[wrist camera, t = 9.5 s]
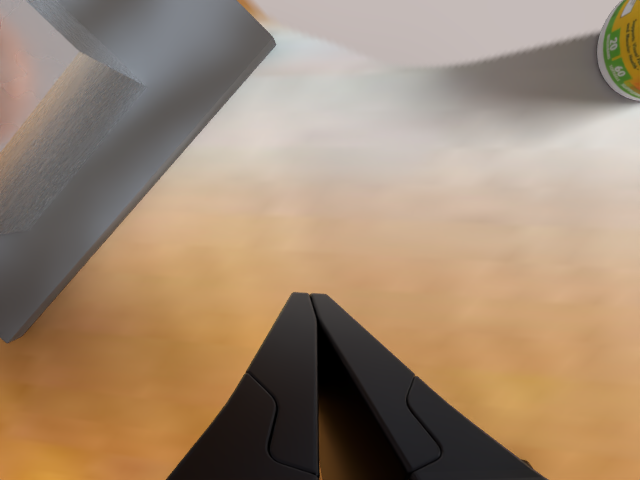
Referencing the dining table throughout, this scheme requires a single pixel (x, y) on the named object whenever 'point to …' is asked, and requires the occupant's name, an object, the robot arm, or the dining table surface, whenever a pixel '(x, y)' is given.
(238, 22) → the slate board
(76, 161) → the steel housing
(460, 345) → the dining table surface
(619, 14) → the supplement bottle
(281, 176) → the dining table surface
